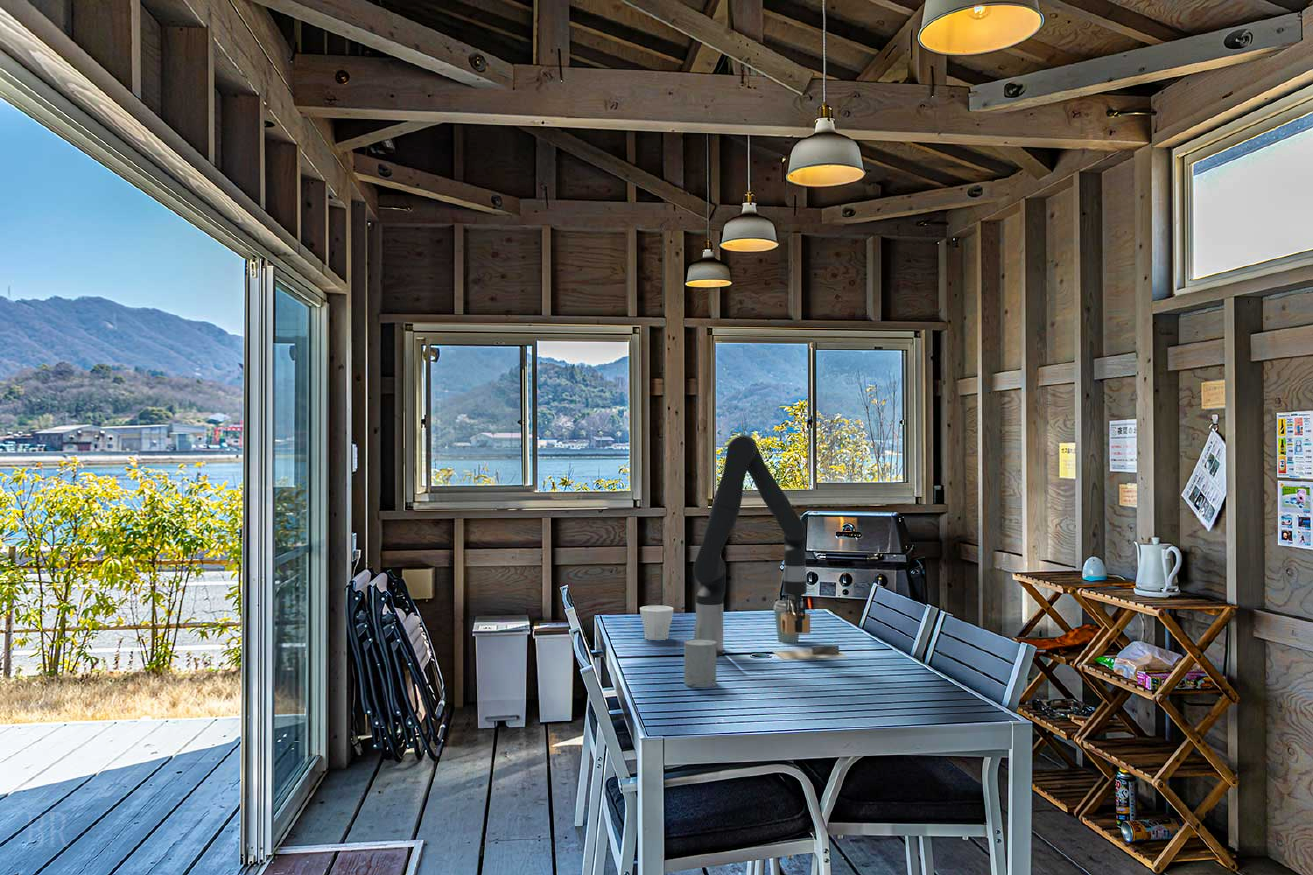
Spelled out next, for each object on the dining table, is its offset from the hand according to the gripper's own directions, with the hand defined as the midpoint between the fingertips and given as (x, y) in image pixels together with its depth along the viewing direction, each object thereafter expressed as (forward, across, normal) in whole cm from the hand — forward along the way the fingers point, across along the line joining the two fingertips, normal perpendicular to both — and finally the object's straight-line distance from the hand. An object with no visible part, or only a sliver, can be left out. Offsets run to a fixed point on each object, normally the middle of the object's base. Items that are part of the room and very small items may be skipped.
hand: (795, 630), depth 310 cm
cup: (+9, +40, +39) cm, 57 cm away
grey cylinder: (+10, -26, +38) cm, 47 cm away
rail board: (+10, 0, -5) cm, 11 cm away
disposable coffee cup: (+10, +22, -5) cm, 25 cm away
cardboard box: (+1, 0, 0) cm, 1 cm away
